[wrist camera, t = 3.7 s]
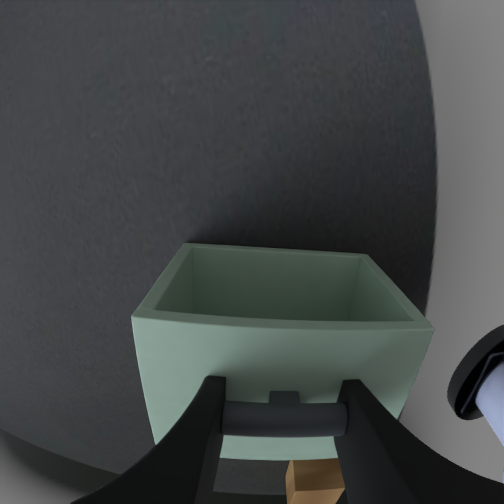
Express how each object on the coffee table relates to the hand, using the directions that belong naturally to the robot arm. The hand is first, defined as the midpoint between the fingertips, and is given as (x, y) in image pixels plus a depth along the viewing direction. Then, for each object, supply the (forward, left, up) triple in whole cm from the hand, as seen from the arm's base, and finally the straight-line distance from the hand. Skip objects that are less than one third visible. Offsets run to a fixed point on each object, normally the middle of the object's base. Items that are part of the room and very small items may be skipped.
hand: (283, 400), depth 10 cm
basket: (0, +4, -3) cm, 5 cm away
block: (-5, +17, -8) cm, 19 cm away
